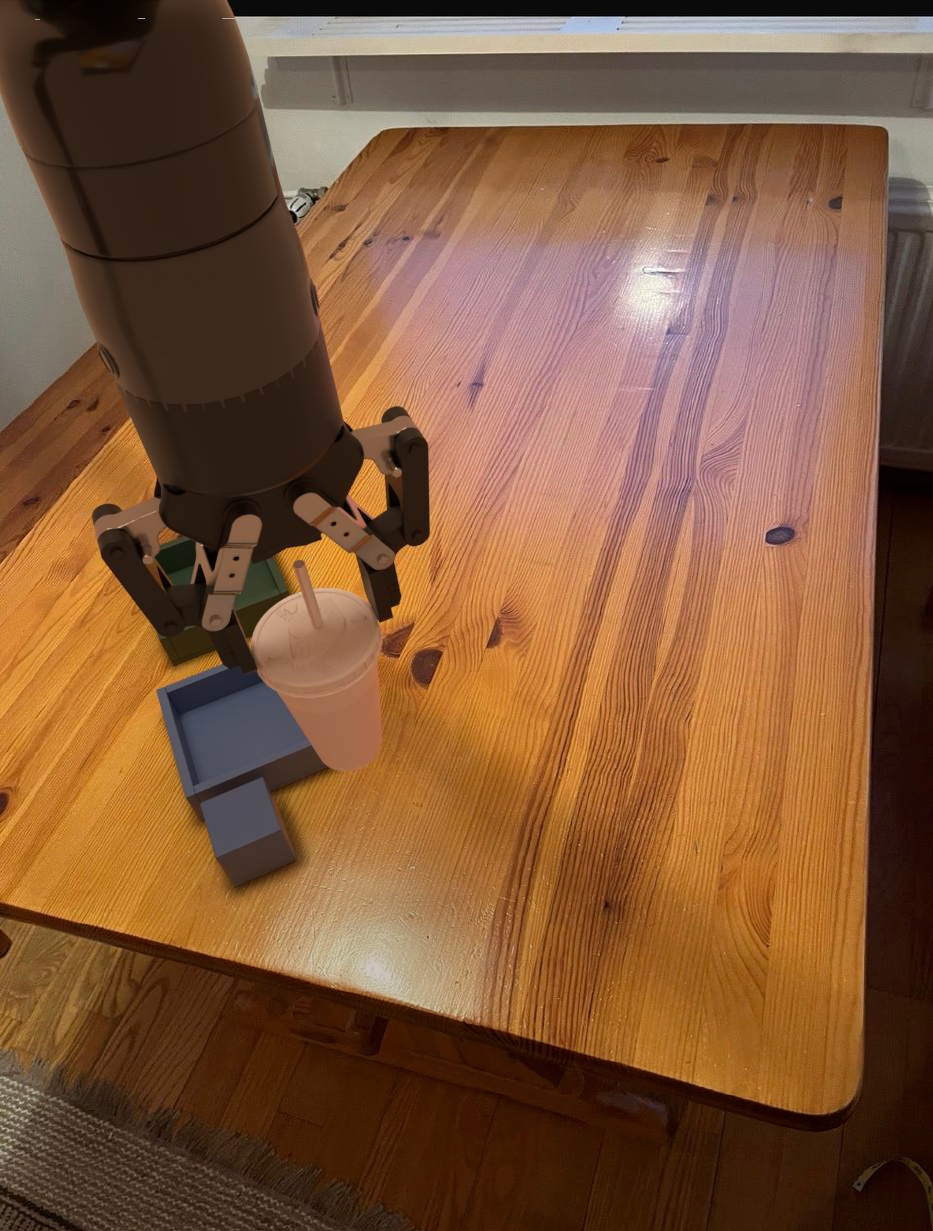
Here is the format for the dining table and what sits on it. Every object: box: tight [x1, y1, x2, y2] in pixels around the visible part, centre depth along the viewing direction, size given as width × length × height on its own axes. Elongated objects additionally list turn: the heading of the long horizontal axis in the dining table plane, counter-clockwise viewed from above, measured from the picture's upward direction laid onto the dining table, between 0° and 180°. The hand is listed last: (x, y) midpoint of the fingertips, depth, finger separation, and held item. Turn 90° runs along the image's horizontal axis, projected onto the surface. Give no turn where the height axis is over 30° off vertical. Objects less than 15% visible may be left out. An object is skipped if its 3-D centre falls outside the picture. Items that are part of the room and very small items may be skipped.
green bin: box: [155, 536, 291, 667], centre depth 80 cm, size 11×11×4 cm
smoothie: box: [250, 559, 384, 772], centre depth 47 cm, size 6×6×14 cm
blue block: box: [200, 777, 298, 888], centre depth 64 cm, size 4×4×4 cm
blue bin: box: [155, 663, 329, 822], centre depth 70 cm, size 10×10×4 cm
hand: (313, 633), depth 45 cm, fingers closed on smoothie, 6 cm apart
